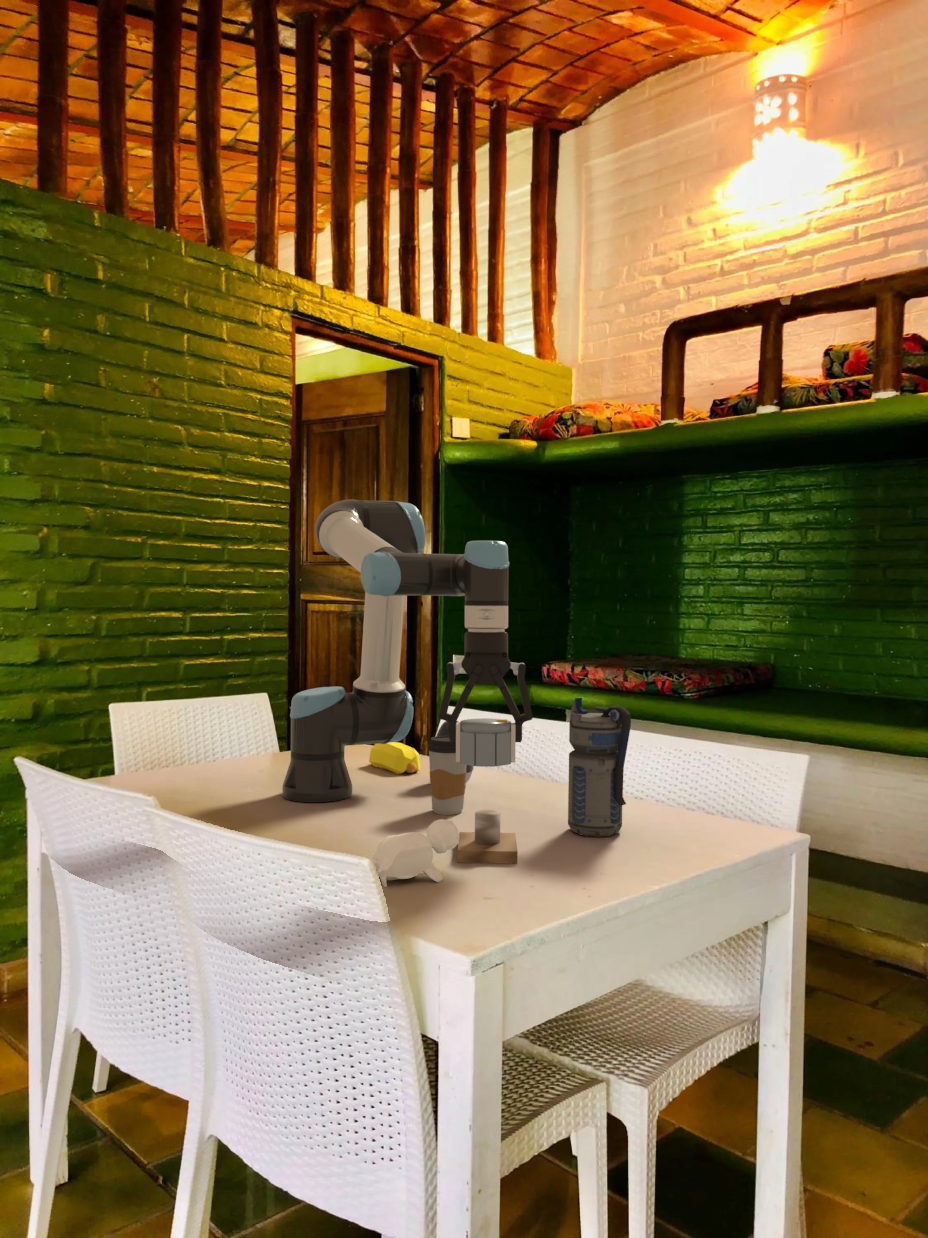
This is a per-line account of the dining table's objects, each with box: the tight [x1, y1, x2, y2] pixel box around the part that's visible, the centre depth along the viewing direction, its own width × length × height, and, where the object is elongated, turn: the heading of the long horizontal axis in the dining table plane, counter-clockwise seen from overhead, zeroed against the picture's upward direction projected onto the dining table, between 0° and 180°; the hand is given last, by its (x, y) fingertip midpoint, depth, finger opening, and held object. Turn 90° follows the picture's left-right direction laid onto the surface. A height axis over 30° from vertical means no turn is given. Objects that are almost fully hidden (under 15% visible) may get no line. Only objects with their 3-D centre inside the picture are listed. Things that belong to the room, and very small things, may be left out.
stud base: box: [457, 809, 518, 864], centre depth 168 cm, size 10×12×7 cm
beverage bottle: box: [567, 697, 632, 837], centre depth 182 cm, size 10×13×25 cm
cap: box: [459, 718, 512, 768], centre depth 167 cm, size 9×9×7 cm
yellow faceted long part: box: [368, 741, 421, 775], centre depth 242 cm, size 18×7×8 cm
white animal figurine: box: [371, 818, 459, 887], centre depth 154 cm, size 8×8×15 cm
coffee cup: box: [427, 736, 467, 816], centre depth 198 cm, size 8×8×15 cm
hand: (485, 760), depth 167 cm, fingers closed on cap, 9 cm apart
